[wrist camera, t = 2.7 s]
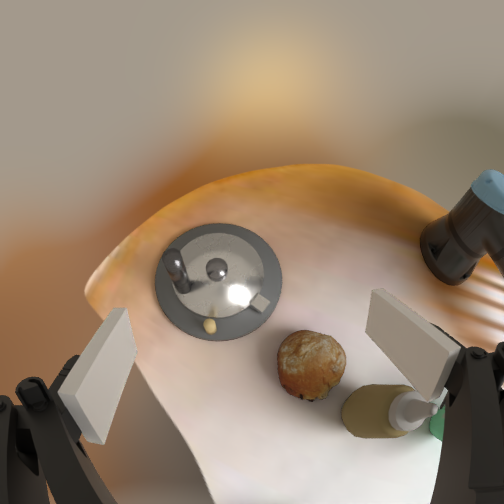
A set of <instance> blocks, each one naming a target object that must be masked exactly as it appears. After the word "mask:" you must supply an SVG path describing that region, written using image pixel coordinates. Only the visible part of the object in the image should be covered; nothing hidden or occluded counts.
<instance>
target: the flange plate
mask: <svg viewBox="0 0 504 504" xmlns="http://www.w3.org/2000/svg"><path fill="white" fill-rule="evenodd" d="M162 261H163V263H164V265H165V267H166V270H167V272H168V274H169V276H170V278H171V280H172V284H173V288H174V290H175V293H176V295H177V297H178V298H179V300H180V301H181V303H182V304H183V305H184V306H185V307H186V308H187V309H188V310H190V311H191V312H193V313H195V314H196V315H199V316H201V317H204V318H210V319H225V318H230V317H233V316H236V315H238V314H240V313H242V312H244V311H245V310H247V309H248V308H249V307H251V308H253V309H254V310H256V311H257V312H258V313H260V314H261V315H262V313H263V312H264V311H265V310H266V308H267V307H268V306H269V304H270V301H269V300H267V299H266V298H264V297H263V296H261V295H260V291H261V288H262V285H263V279H264V269H263V264H262V261H261V258H260V256H259V255H258V253H257V251H256V250H255V249H254V248H253V247H252V246H251V245H250V244H249V243H248V242H246V241H245V240H243V239H241V238H239V237H237V236H234V235H231V234H225V233H212V234H206V235H203V236H200V237H198V238H196V239H194V240H192V241H191V242H189V243H188V244H187V245H185V246H184V247H183V248H182V249H181V251H179V250H178V249H175V248H170V249H167V250H166V251H165V252H164V253H163V255H162Z"/></svg>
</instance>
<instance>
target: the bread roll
mask: <svg viewBox="0 0 504 504" xmlns="http://www.w3.org/2000/svg"><path fill="white" fill-rule="evenodd" d="M277 356H278V358H277V360H278V374H279V379H280V382H281V385H282V386H283V388H285V389H286V391H287V392H288V393H289V394H290V395H293V396H295V397H298V398H300V399H301V400H304V399H306V400H309V401H311V402H313V401H314V400H315V399H316V398H319V399H320V400H322V399H324V398H326V397H327V396H328V392H329V391H330V389H331V388H332V387H333V386H336V385H337V384H339V382H340V379H341V377H342V375H343V373H344V370H345V366H346V355H345V352H344V350H343V348H342V347H341V345H340V344H339V343H337V341H336V340H335V339H334V338H333V337H331V336H328V335H325V334H321V333H317V332H313V331H309V330H301V331H297V332H295V333H293V334H291V335H289V336H288V337H287V338H286V339H285V340H284V341H283V342H282V344H281V346H280V348H279V351H278V354H277Z"/></svg>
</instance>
